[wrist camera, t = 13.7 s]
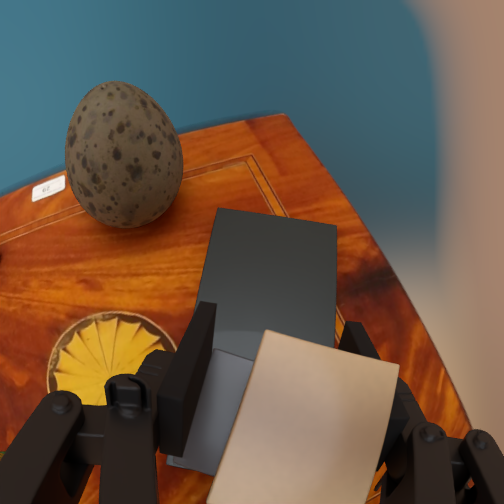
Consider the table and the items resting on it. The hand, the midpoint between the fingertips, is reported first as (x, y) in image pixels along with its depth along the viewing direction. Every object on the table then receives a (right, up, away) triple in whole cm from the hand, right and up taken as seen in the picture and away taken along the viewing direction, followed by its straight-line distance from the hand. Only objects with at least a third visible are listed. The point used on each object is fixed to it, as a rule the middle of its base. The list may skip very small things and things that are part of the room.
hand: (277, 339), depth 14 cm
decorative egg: (-13, +9, +19) cm, 24 cm away
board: (0, -3, +12) cm, 13 cm away
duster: (0, -5, 0) cm, 5 cm away
